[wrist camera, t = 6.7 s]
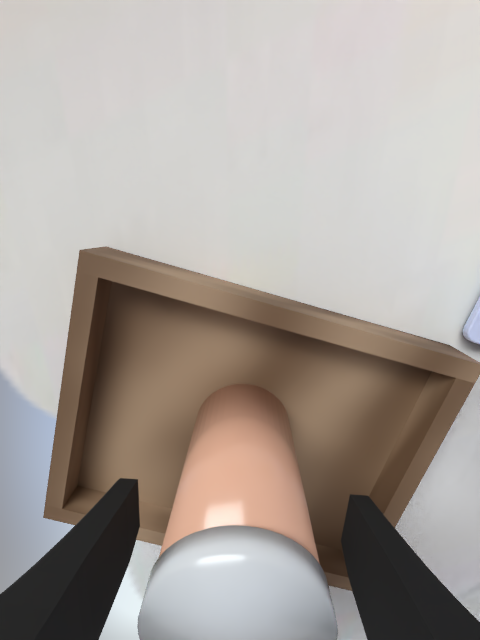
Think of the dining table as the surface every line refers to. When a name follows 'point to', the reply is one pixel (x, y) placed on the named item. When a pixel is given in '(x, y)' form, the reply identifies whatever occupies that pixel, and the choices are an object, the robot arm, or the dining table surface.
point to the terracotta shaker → (239, 534)
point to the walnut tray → (241, 368)
